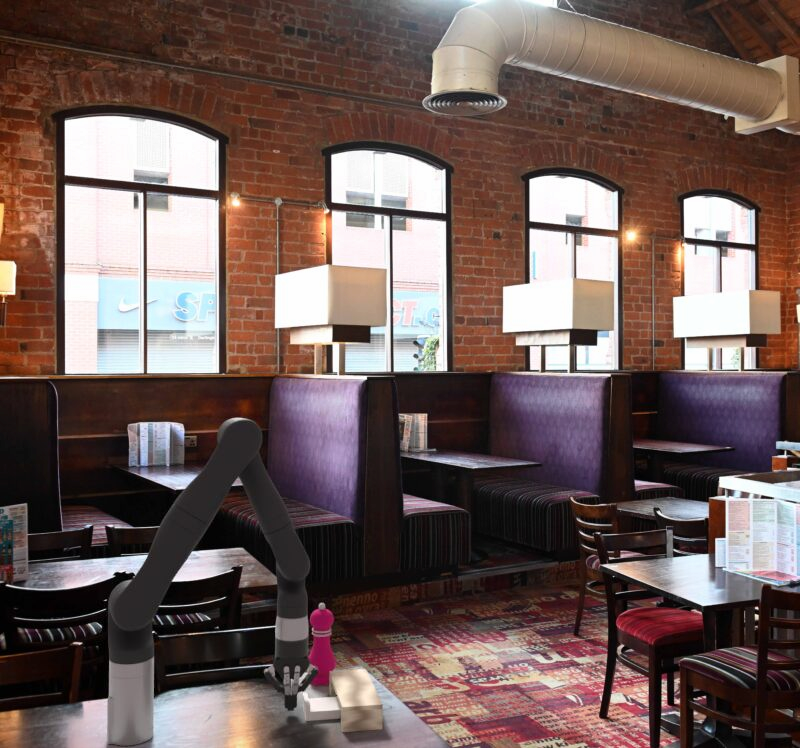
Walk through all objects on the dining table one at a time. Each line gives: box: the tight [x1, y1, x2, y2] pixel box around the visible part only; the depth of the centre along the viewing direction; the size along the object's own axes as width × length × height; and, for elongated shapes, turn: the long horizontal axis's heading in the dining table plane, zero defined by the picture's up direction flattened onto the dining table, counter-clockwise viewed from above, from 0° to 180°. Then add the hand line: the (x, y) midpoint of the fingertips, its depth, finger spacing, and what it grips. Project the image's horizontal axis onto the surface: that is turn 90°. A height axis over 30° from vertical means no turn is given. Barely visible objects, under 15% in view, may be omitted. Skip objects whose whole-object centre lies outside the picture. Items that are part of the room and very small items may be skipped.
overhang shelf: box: [328, 668, 384, 733], centre depth 204 cm, size 9×23×6 cm, turn 12°
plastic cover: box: [302, 691, 341, 722], centre depth 203 cm, size 15×8×4 cm, turn 101°
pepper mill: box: [308, 602, 337, 687], centre depth 223 cm, size 7×7×20 cm
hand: (290, 709), depth 201 cm, fingers closed
